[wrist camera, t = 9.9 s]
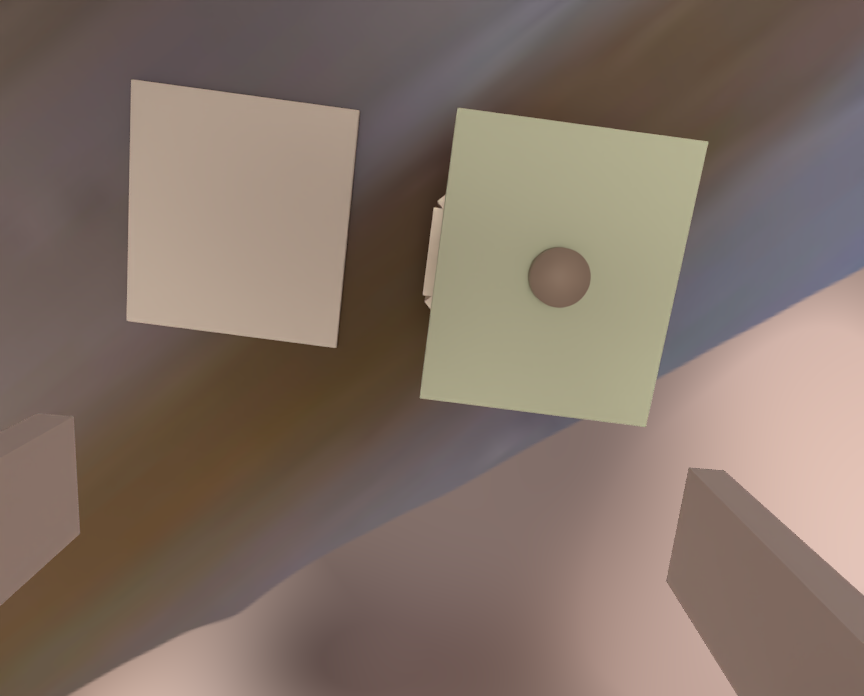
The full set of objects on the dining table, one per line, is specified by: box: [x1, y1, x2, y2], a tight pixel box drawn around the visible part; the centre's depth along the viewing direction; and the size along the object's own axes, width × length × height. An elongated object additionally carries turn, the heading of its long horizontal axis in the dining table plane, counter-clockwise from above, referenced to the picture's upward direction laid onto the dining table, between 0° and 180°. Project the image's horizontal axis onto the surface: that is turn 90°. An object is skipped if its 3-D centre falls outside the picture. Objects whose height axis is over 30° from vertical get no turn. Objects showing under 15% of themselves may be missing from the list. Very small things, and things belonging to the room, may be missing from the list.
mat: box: [127, 79, 360, 348], centre depth 35 cm, size 14×13×1 cm
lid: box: [420, 108, 708, 427], centre depth 26 cm, size 12×10×5 cm
